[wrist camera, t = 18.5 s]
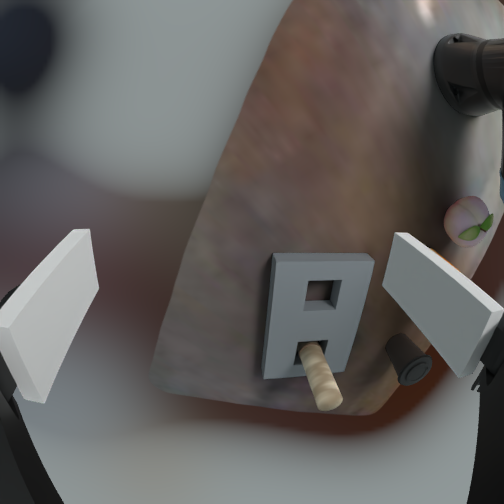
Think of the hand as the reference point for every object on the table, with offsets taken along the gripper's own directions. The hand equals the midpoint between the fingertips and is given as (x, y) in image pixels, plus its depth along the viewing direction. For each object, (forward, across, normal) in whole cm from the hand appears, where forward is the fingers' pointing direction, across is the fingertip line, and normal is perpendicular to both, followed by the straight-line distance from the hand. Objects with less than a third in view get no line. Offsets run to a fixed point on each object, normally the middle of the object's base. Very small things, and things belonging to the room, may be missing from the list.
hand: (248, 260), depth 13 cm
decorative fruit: (+32, +41, -6) cm, 52 cm away
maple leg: (+32, +16, -32) cm, 48 cm away
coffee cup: (+32, +37, -35) cm, 60 cm away
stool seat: (+32, +16, -26) cm, 44 cm away
